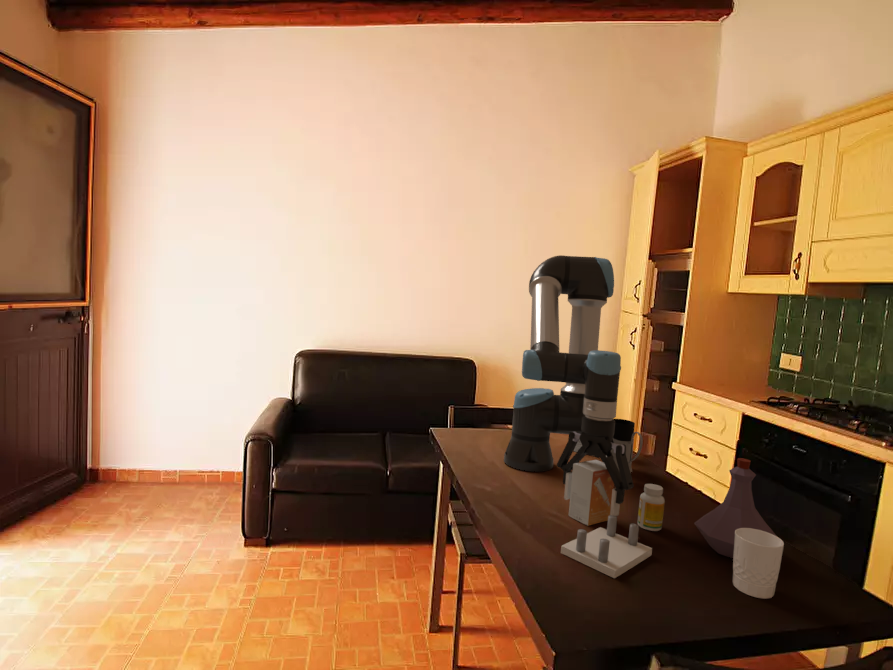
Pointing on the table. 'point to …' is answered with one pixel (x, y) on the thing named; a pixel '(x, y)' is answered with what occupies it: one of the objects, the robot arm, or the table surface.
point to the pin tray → (615, 553)
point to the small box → (590, 492)
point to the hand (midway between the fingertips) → (590, 506)
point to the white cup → (756, 562)
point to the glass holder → (625, 439)
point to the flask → (732, 512)
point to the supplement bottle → (651, 508)
